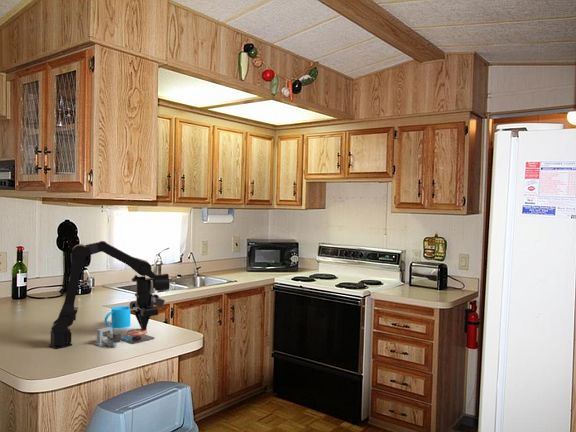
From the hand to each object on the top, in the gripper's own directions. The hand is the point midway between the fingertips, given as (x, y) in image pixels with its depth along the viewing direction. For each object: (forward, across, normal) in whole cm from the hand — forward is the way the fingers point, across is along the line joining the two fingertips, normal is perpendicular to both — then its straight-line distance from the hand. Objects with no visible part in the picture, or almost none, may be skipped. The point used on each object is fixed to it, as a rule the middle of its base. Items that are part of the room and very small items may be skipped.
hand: (143, 328), depth 201 cm
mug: (+4, +24, +4) cm, 25 cm away
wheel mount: (+4, 0, +3) cm, 5 cm away
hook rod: (+2, -2, +14) cm, 15 cm away
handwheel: (+2, 0, +3) cm, 4 cm away
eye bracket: (+4, -1, +15) cm, 15 cm away
